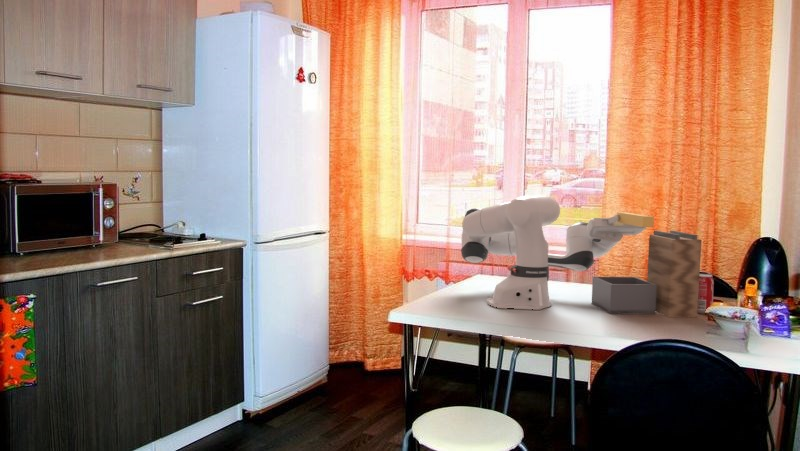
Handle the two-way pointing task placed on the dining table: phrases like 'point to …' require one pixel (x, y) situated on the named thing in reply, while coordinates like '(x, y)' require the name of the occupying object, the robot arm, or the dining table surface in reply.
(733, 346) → the dining table surface
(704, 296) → the soda can
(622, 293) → the bin
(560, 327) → the dining table surface
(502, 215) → the robot arm
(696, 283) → the stand
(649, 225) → the bar
